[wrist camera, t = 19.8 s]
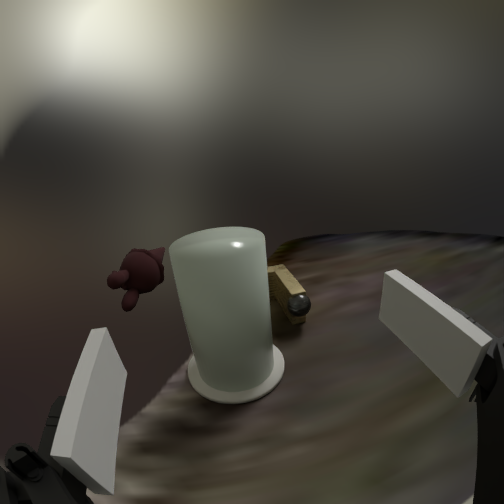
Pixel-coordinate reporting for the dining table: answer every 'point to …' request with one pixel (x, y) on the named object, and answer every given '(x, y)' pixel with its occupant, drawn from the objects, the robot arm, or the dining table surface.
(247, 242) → the tall sage cylinder
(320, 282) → the dining table surface
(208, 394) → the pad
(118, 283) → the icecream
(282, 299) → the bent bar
